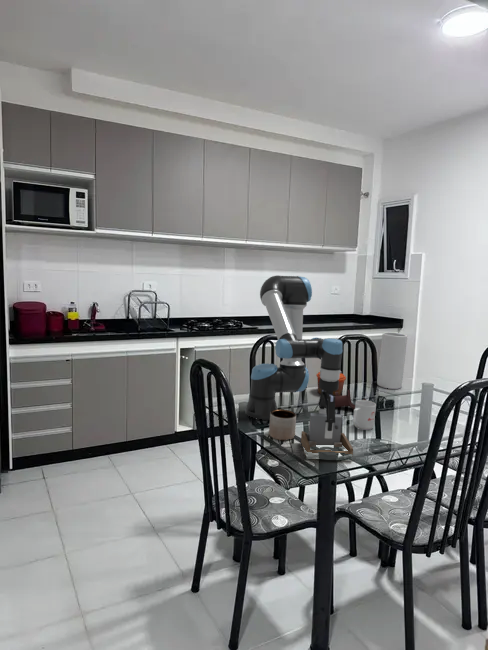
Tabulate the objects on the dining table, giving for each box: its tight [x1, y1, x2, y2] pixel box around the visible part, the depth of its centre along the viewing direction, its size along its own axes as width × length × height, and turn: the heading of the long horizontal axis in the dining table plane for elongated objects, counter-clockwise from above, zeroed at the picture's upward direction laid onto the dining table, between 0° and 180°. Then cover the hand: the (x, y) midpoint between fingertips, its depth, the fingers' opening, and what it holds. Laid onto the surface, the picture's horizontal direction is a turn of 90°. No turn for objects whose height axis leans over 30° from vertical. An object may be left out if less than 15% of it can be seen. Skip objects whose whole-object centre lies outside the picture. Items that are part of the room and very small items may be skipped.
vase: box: [376, 331, 408, 390], centre depth 271 cm, size 14×14×32 cm
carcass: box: [300, 430, 354, 455], centre depth 177 cm, size 17×15×5 cm
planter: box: [268, 408, 297, 441], centre depth 190 cm, size 11×11×10 cm
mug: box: [352, 399, 377, 431], centre depth 203 cm, size 12×9×11 cm
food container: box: [316, 371, 347, 396], centre depth 252 cm, size 16×16×11 cm
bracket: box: [335, 389, 367, 411], centre depth 228 cm, size 6×17×10 cm, turn 81°
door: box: [308, 412, 343, 445], centre depth 179 cm, size 12×4×12 cm, turn 91°
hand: (324, 431), depth 180 cm, fingers open, 13 cm apart
